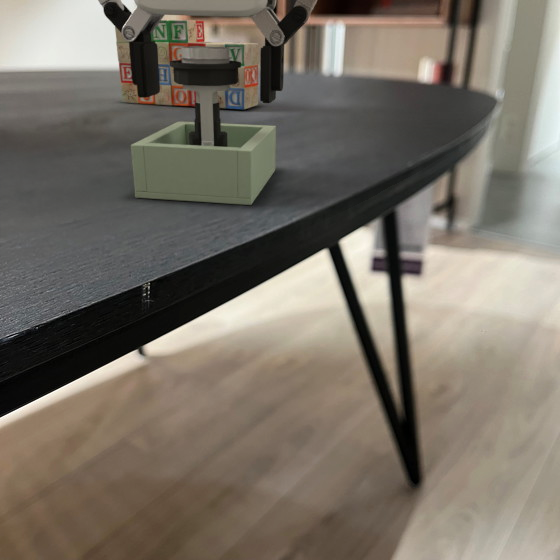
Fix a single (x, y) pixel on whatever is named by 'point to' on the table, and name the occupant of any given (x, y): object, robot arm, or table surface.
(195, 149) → the open green box
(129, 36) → the robot arm
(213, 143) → the push button
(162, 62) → the stack of blocks
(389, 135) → the table surface
